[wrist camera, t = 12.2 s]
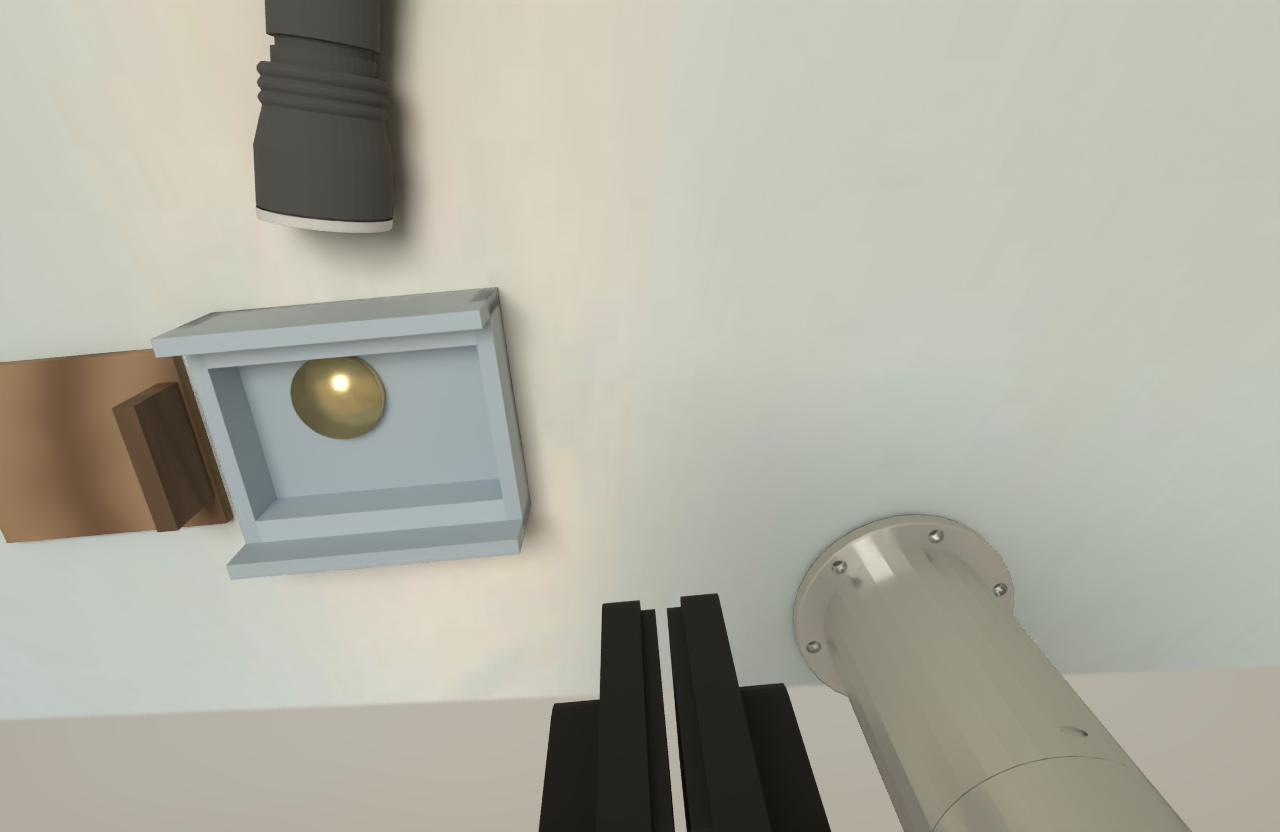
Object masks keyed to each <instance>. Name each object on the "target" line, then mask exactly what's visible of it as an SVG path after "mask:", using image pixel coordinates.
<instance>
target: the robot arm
mask: <svg viewBox="0 0 1280 832" xmlns="http://www.w3.org/2000/svg"><path fill="white" fill-rule="evenodd" d="M680 599H681V607H674V608H667V616H668V628H669V640H670V652H671V664H672V676H673V688H674V699H675V711H676V722H677V735H678V747H679V759H680V769H681V779H682V789H683V798H684V808H685V818H686V827H687V832H831V830H830V827H829V823H828V820H827V817H826V814H825V810H824V807H823V804H822V801H821V797H820V794H819V791H818V788H817V785H816V782H815V778H814V775H813V772H812V768H811V765H810V762H809V759H808V756H807V752H806V749H805V746H804V743H803V740H802V736H801V733H800V730H799V727H798V723H797V720H796V717H795V714H794V711H793V707H792V704H791V701H790V698H789V695H788V692H787V689H786V687H785V685H784V684H783V683H779V684H768V685H756V686H745V687H739V685H738V680H737V676H736V671H735V667H734V663H733V658H732V654H731V649H730V645H729V640H728V636H727V632H726V627H725V623H724V618H723V614H722V609H721V605H720V600H719V597H718V594H717V593H716V594H705V595H694V596H682V597H681V598H680ZM1013 608H1014V588H1013V585H1012V581H1011V577H1010V573H1009V571H1008V569H1007V567H1006V566H1005V564H1004V562H1003V560H1002V558H1001V557H1000V556H999V555H998V553H997V552H996V551H995V550H994V549H993V548H992V546H991V545H990V544H989V543H988V542H987V541H986V540H984V539H983V538H982V537H981V536H980V535H979V534H977V533H976V532H975V531H973V530H971V529H970V528H968V527H966V526H964V525H962V524H960V523H958V522H955V521H952V520H948V519H945V518H942V517H937V516H927V515H906V516H895V517H891V518H887V519H883V520H878V521H875V522H872V523H870V524H868V525H865V526H863V527H860V528H858V529H855V530H854V531H852V532H851V533H849V534H847V535H846V536H844V537H842V538H841V539H839V540H838V541H836V542H835V543H834V544H833V545H832V546H831V547H829V548H828V549H827V550H826V551H825V552H824V553H823V554H821V556H820V557H819V558H818V559H817V561H816V562H815V563H814V564H813V565H812V567H811V568H810V569H809V571H808V572H807V574H806V576H805V578H804V580H803V582H802V583H801V585H800V587H799V591H798V594H797V597H796V601H795V604H794V617H793V623H794V630H795V636H796V640H797V643H798V646H799V649H800V651H801V654H802V656H803V658H804V659H805V661H806V663H807V665H808V667H809V668H810V670H811V671H812V672H813V673H814V674H815V675H816V676H817V677H818V678H819V680H820V681H822V682H823V683H824V684H826V685H827V686H829V687H830V688H831V689H833V690H834V691H836V692H839V693H841V694H843V695H845V696H847V697H848V698H849V700H850V703H851V705H852V707H853V710H854V712H855V715H856V717H857V719H858V722H859V724H860V727H861V729H862V731H863V734H864V736H865V738H866V741H867V743H868V746H869V748H870V751H871V753H872V755H873V758H874V760H875V763H876V765H877V767H878V770H879V772H880V775H881V777H882V780H883V782H884V784H885V787H886V789H887V792H888V794H889V796H890V799H891V801H892V804H893V806H894V808H895V811H896V813H897V815H898V818H899V820H900V823H901V825H902V828H903V830H904V832H1192V831H1191V830H1190V829H1189V828H1188V827H1187V825H1186V824H1185V823H1184V822H1183V821H1182V819H1181V818H1180V817H1179V816H1178V815H1177V813H1176V812H1175V811H1174V810H1173V809H1172V807H1171V806H1170V805H1169V804H1168V803H1167V801H1166V800H1165V799H1164V798H1163V797H1162V796H1161V794H1160V793H1159V792H1158V791H1157V789H1156V788H1155V787H1154V786H1153V785H1152V784H1151V783H1150V781H1149V780H1148V779H1147V778H1146V777H1145V775H1144V774H1143V773H1142V772H1141V771H1140V769H1139V768H1138V767H1137V766H1136V765H1135V763H1134V762H1133V761H1132V760H1131V758H1130V757H1129V756H1128V755H1127V754H1126V752H1125V751H1124V750H1123V749H1122V748H1121V746H1120V745H1119V744H1118V743H1117V741H1116V740H1115V739H1114V738H1113V737H1112V735H1111V734H1110V733H1109V732H1108V731H1107V729H1106V728H1105V727H1104V726H1103V725H1102V723H1101V722H1100V721H1099V720H1098V719H1097V717H1096V716H1095V715H1094V714H1093V713H1092V711H1091V710H1090V709H1089V708H1088V707H1087V705H1086V704H1085V703H1084V702H1083V701H1082V699H1081V698H1080V697H1079V696H1078V694H1077V693H1076V692H1075V691H1074V690H1073V688H1072V687H1071V686H1070V685H1069V684H1068V682H1067V681H1066V680H1065V679H1064V678H1063V676H1062V675H1061V674H1060V673H1059V671H1058V670H1057V669H1056V668H1055V667H1054V665H1053V664H1052V663H1051V662H1050V661H1049V659H1048V658H1047V657H1046V656H1045V655H1044V653H1043V652H1042V651H1041V650H1040V649H1039V647H1038V646H1037V645H1036V644H1035V642H1034V641H1033V640H1032V639H1031V638H1030V636H1029V635H1028V634H1027V633H1026V632H1025V630H1024V629H1023V628H1022V627H1021V626H1020V624H1019V623H1018V622H1017V621H1016V620H1015V618H1014V617H1013V616H1012V613H1013ZM666 737H667V736H666V726H665V715H664V703H663V692H662V681H661V670H660V659H659V648H658V637H657V626H656V615H655V609H652V610H641V608H640V601H639V600H638V601H627V602H616V603H604V604H603V605H602V632H601V669H600V700H590V701H578V702H568V703H556V704H554V706H553V709H552V716H551V724H550V734H549V742H548V751H547V760H546V769H545V779H544V787H543V797H542V806H541V815H540V824H539V832H675V827H674V817H673V816H674V815H673V804H672V792H671V781H670V769H669V758H668V747H667V738H666Z"/></svg>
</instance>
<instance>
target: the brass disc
mask: <svg viewBox="0 0 1280 832" xmlns="http://www.w3.org/2000/svg"><path fill="white" fill-rule="evenodd" d="M290 395H291V401H292V405H293V407H294V410H295V412H296V413H297V415H298V416H299V418H300V419H301V420H302V422H303V423H304V424H305V425H307V426H308V427H309V428H310V429H312V430H313V431H315V432H316V433H318V434H320V435H323V436H325V437H328V438H333V439H351V438H355V437H358V436H360V435H363V434H364V433H366V432H367V431H368V430H370V429H371V428H372V427H373V426H374V424H375V423H376V422H377V421H378V420H379V418H380V417H381V415H382V413H383V411H384V408H385V404H386V392H385V387H384V384H383V382H382V379H381V377H380V376H379V374H378V373H377V371H376V370H375V369H374V368H373V367H372V366H371V365H370V364H369V363H368V362H366V361H365V360H363V359H362V358H360V357H358V356H345V357H334V358H322V359H311V360H308V361H307V362H306V363H304V364H303V365H302V366H301V367H300V368H299V369H298V370H297V372H296V373H295V375H294V377H293V379H292V383H291V389H290Z"/></svg>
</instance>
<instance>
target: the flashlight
mask: <svg viewBox="0 0 1280 832" xmlns="http://www.w3.org/2000/svg"><path fill="white" fill-rule="evenodd" d="M265 15H266V34H268V35H271V36H274V38H275V45H270V58H271V62H268V61H260V62H259V64H258V65H257V67H256V68H257V71H258V72H259V74H260V75H261V76H260V77H259V79H258V81H257V84H258V86H259V87H260V89H261V91H260V92H259V94H258V99H259V101H260V102H261V103H262V107H261V112H260V116H259V121H258V125H257V130H256V134H255V139H254V143H253V148H254V170H255V192H256V204H257V205H256V215H257V218H258V219H260V220H263V221H266V222H270V223H273V224H277V225H282V226H287V227H295V228H302V229H310V230H318V231H329V232H346V233H376V232H386V231H390V230H391V229H392V226H393V218H392V216H393V173H394V160H393V155H392V151H391V146H390V142H389V137H388V132H387V128H386V123H385V121H386V120H387V119H388V117H389V114H388V111H387V110H386V107H387V106H388V104H389V100H388V98H387V96H386V94H387V93H388V92H389V86H388V84H387V83H386V81H383V80H379V79H377V63H375V62H373V54H380V21H381V0H265Z"/></svg>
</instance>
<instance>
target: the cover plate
mask: <svg viewBox="0 0 1280 832" xmlns="http://www.w3.org/2000/svg"><path fill="white" fill-rule="evenodd" d="M233 517H234V516H233V513H232V510H231V507H230V504H229V501H228V498H227V495H226V492H225V489H224V485H223V482H222V479H221V476H220V473H219V470H218V467H217V464H216V461H215V458H214V455H213V452H212V449H211V446H210V442H209V439H208V436H207V433H206V430H205V427H204V424H203V421H202V418H201V415H200V412H199V409H198V406H197V403H196V399H195V396H194V393H193V390H192V387H191V384H190V381H189V378H188V375H187V372H186V369H185V366H184V363H183V360H182V357H181V356H169V357H158V358H156V356H155V353H154V350H153V349H143V350H132V351H121V352H110V353H99V354H88V355H77V356H66V357H55V358H44V359H33V360H22V361H11V362H0V529H1V531H2V533H3V535H4V537H5V540H6V542H7V543H14V542H25V541H36V540H47V539H57V538H68V537H79V536H90V535H101V534H112V533H123V532H134V531H145V530H156V529H157V532H166V531H177V530H179V529H180V528H181V527H189V526H200V525H211V524H222V523H228V522H229V521H230V520H231V519H232V518H233Z"/></svg>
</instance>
